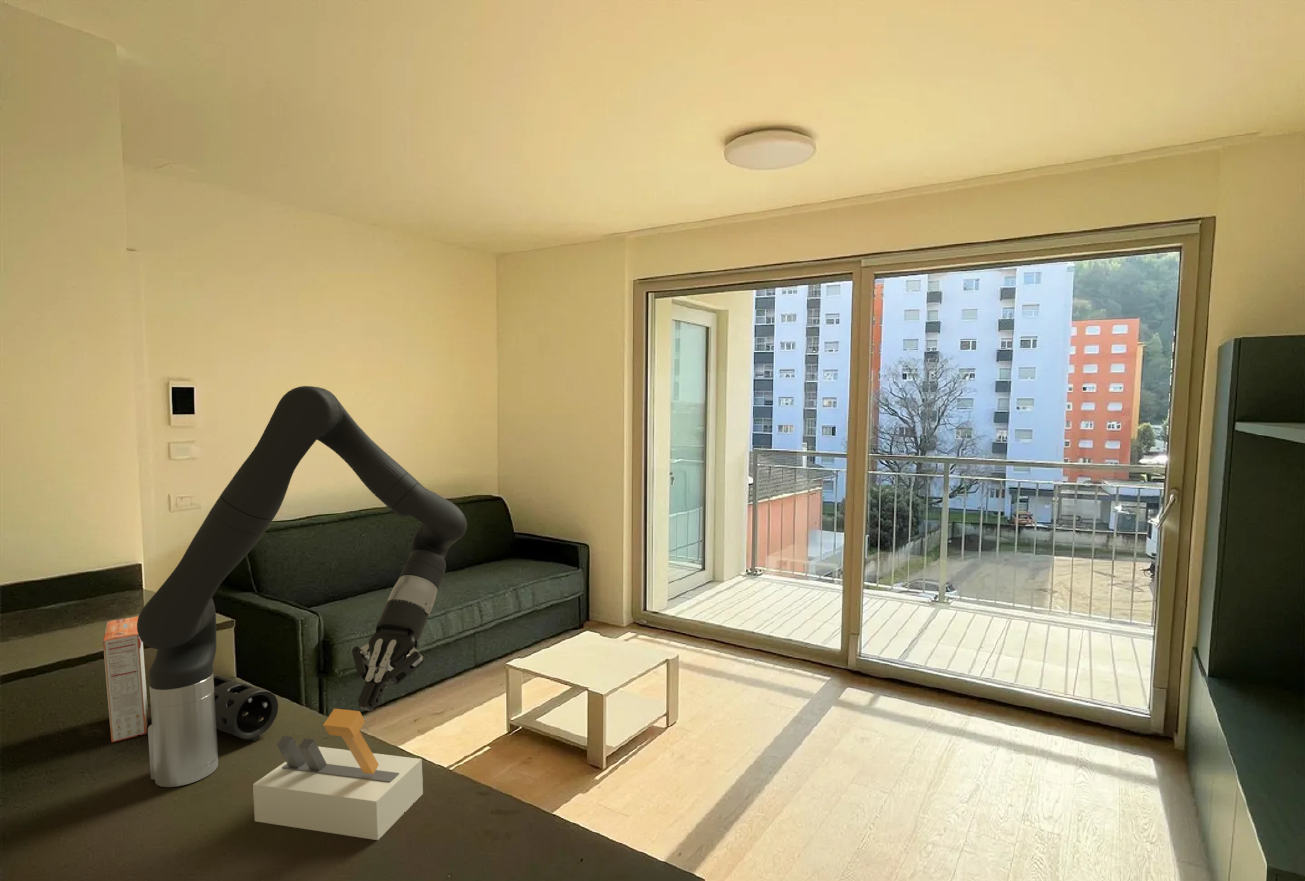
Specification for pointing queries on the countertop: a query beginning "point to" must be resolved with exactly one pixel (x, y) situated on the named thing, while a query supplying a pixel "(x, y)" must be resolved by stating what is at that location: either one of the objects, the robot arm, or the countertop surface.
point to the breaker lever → (352, 736)
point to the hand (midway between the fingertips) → (365, 708)
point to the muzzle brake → (243, 708)
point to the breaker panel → (336, 791)
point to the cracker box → (125, 679)
